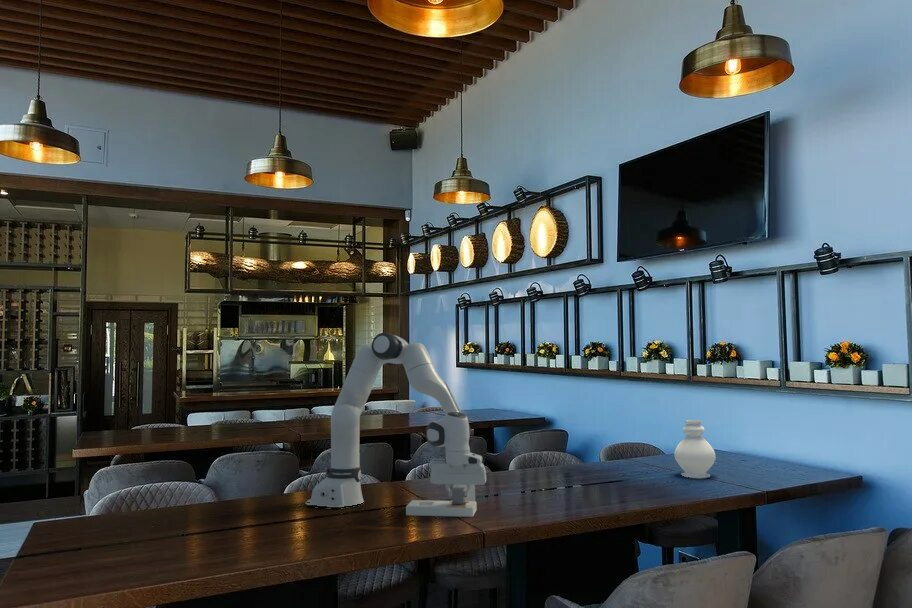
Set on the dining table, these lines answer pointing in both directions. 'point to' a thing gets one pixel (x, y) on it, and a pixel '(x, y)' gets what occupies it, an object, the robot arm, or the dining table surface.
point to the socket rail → (440, 508)
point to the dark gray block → (458, 496)
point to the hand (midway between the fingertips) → (458, 496)
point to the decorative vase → (694, 451)
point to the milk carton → (470, 493)
